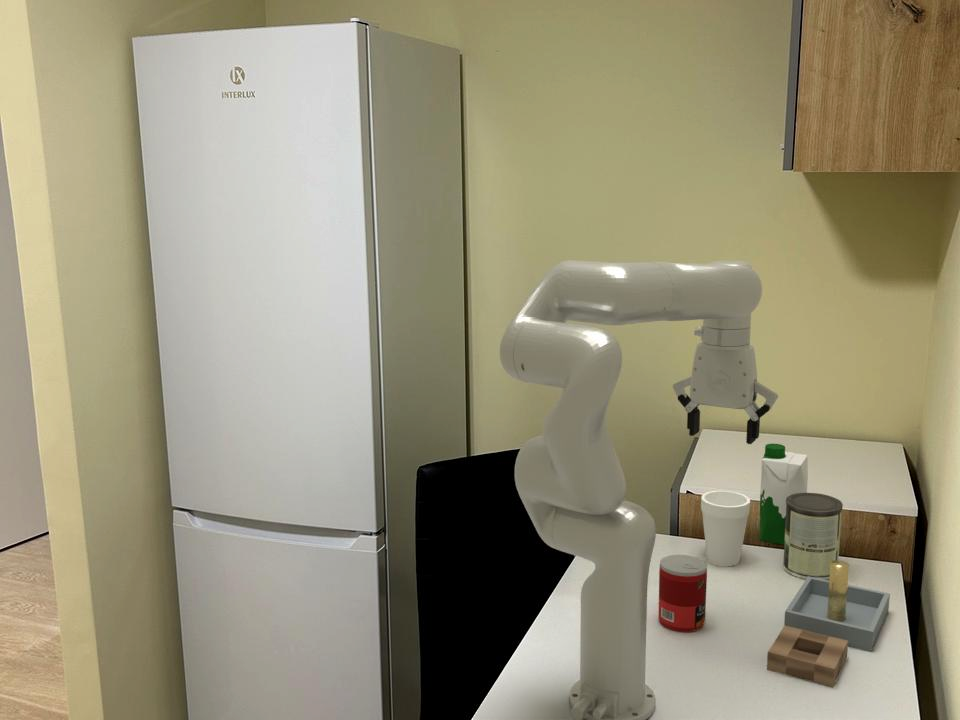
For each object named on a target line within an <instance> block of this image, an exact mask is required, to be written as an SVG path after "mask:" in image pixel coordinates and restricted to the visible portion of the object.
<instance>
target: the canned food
mask: <svg viewBox="0 0 960 720" xmlns="http://www.w3.org/2000/svg"><path fill="white" fill-rule="evenodd" d="M658 572H659V573H658V574H659V575H658V578H659V580H658V619H659V622H660V623H661V625H662V626H663V627H665V628H666V629H668V630H672V631H675V632H679V633H692V632H697V631H699V630H701V629H702V628H703V627H704V624H705V621H706V610H707V609H706V607H707V605H706V604H707V582H708V580H707V579H708V567H707V563H706V562H705V561H704V560H702V559H701V558H699V557H696V556H693V555H687V554H672V555H667V556H664V557H662V558H661V559H660V561H659V571H658Z"/></svg>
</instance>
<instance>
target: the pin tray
mask: <svg viewBox="0 0 960 720" xmlns="http://www.w3.org/2000/svg"><path fill="white" fill-rule="evenodd" d="M828 593H829V580H824V579H819V578H814V577H809V576H808V577H807V578H806V579H804V582H803V583H802V585H801V586H800V588H799V589H798V591H797V592H796V594H795V595H794V597H793V598H792V600H791V602H790V603H789V604H788V606H787V607H786V609H785V611H784V624H783V625H784V626H789V627H793V628H798V629H802V630H806V631H810V632H814V633H818V634H823V635H827V636H831V637H835V638H839V639H843V640H847V641H848V647H851V648H854V649H859V650H862V651H867V652H871V653H872V652H873V650H874V647H875V645H876V642H877V640H878V637H879V636H880V633H881V630H882V628H883V626H884V624H885V621H886V619H887V617H888V614H889V611H890V609H889V608H890V598H891V594H890V593H889V592H885V591H879V590H876V589H875V590H874V589H870V588H866V587H860V586H856V585H852V584H851V585H850V584H848V589H847V604H846V619H845V621H842V622H838V621H834V620H830V619H828V618H827V609H828ZM784 626H783V627H784Z"/></svg>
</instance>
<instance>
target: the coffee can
mask: <svg viewBox="0 0 960 720" xmlns="http://www.w3.org/2000/svg"><path fill="white" fill-rule="evenodd" d="M843 505H844V504H843V502H842V501H841V500H839V499H838V498H836V497H833V496H831V495H827V494H823V493H818V492H817V493H816V492H807V493H796V494H792V495H790V496H788V497H787V498H786V523H785V543H784V547H783V548H784V549H783V564H782V568H783V570H784V569H785V570H786V571H787V572H788V573H787V572H786V571H785V570H784V571H785V572H786V573H787V574H789V573H790V574H793V575H794V576H793V577H795V576H797V577H796V578H798V577H800V578H799V579H801V578H804V579H803V580H806V578H807V577H808V576H809V577H814V578H819V579H824V580H828V579H829V577H830V562H831V561H834V560H839V556H840V555H839V554H840V540H841V539H840V538H841V527H842V526H841V524H842V523H841V522H842V510H843ZM790 574H789V575H790ZM828 581H829V580H828Z"/></svg>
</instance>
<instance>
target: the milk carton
mask: <svg viewBox="0 0 960 720" xmlns="http://www.w3.org/2000/svg"><path fill="white" fill-rule="evenodd" d="M808 457H809V456H808V454H803V453H795V452H791V451H786V446H785V445H784V444H781V443H780V444H779V443H767V444H765V447H764V454H763V457H762V459H761V476H760V496H759V541H761V542H765V543H772V544H778V545H784V543H785V523H786V498H787V497H788V496H790V495H792V494H796V493H808V478H809V477H808V474H809V471H808V465H809V464H808V463H809V462H808V459H809V458H808Z"/></svg>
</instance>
